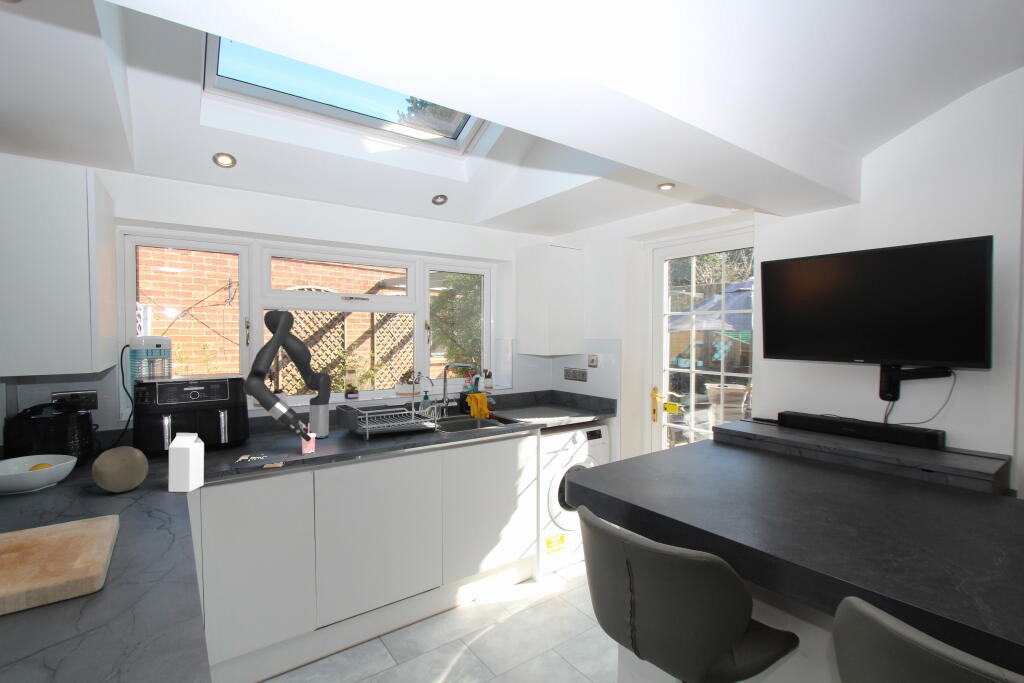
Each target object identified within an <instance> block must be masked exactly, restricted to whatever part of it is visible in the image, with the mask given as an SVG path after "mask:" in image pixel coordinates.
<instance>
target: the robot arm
mask: <svg viewBox="0 0 1024 683" xmlns="http://www.w3.org/2000/svg"><path fill="white" fill-rule="evenodd" d="M263 322H264V325H265V328H266V329H267V330H268V331H269V332H270V333H271V334H272V336H271V338H270V339H269V340H268V341H267V342H266V343H265V344H264V345H263V346H262V347H261V348H260V349H259V350H258V352H257V353H256V355H255V358H254V360H253V362H252V365H251V368H250V371H249V373H248V376H247V378H246V379H245V381H244V383H243V386H242V387H243V388H242V390H243V392H244V393H245V395H247V396H251V397H253V398H254V399H255V400H256V401H258V404H259V405H260V406H261V408H263V409H264V410H265V411H266V412H268V414H270V416H271V417H272V418H274V420H276V421H277V422H278V423H279V424H280V425H281V426H282V427H286V426H287V425H289V426H288V429H290V430H291V431H292V432H293V433H294V434H295V435H296V436H297V437H300V438H301V439H302V438H304V439H305V440H306V441H307V442H309V441H310V440H311V437H310V436H309V435H308V434H307V433H308V424H306V423H304V422H303V421H302V420H301V419H300V418H299V417H297V415H298V412H296V410H294V409H293V408H292V407H291V406H290V405H288V403H286V402H285V401H283V400H282V399H281V398H280V397H279V396H277V395H276V394H275V393H274V392H272V390H271V389H270V388H269V387H268V386H267V384H266V383H265V381H266V377H267V375H268V374H269V373H270V369H271V367H272V364H273V362H274V360H275V357H276V355H277V353H278V352H279V350H280V348H281V347H282V348H283V349H284V351H285V353H286V355H287V356H288V357H289V359H290V361H291V363H293V365H294V367H295V368H296V370H297V371H298V373H299V375H300V376H301V378H302V380H303V382H304V384H305V386H306V388H307V389H309V390H310V391H317V395H316V396H314V397H311V398H310V399H309V416H308V418H309V419H308V420H309V422H308V423H309V433H315V434H316V437H320V436H326V435H328V434H329V435H330V433H329V430H330V429H329V428H330V426H329V425H330V424H329V423H330V420H329V419H330V418H329V417H330V399H331V386H332V379H331V375H330V374H329V373H327V372H315V371H314V370H313V368H312V367H311V363H312V353H311V351H310V349H309V347H308V346H307V344H306V343H305V342H304V341H303V340H302V339H300V338H299V337H298V336H296V335H295V334H293V333H292V332H291V330H292V328H293V326H294V323H295V317H294V315H293V313H292V312H290V311H287V310H277V309H274V310H268V311H267V312H265V314H264V316H263Z"/></svg>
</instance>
